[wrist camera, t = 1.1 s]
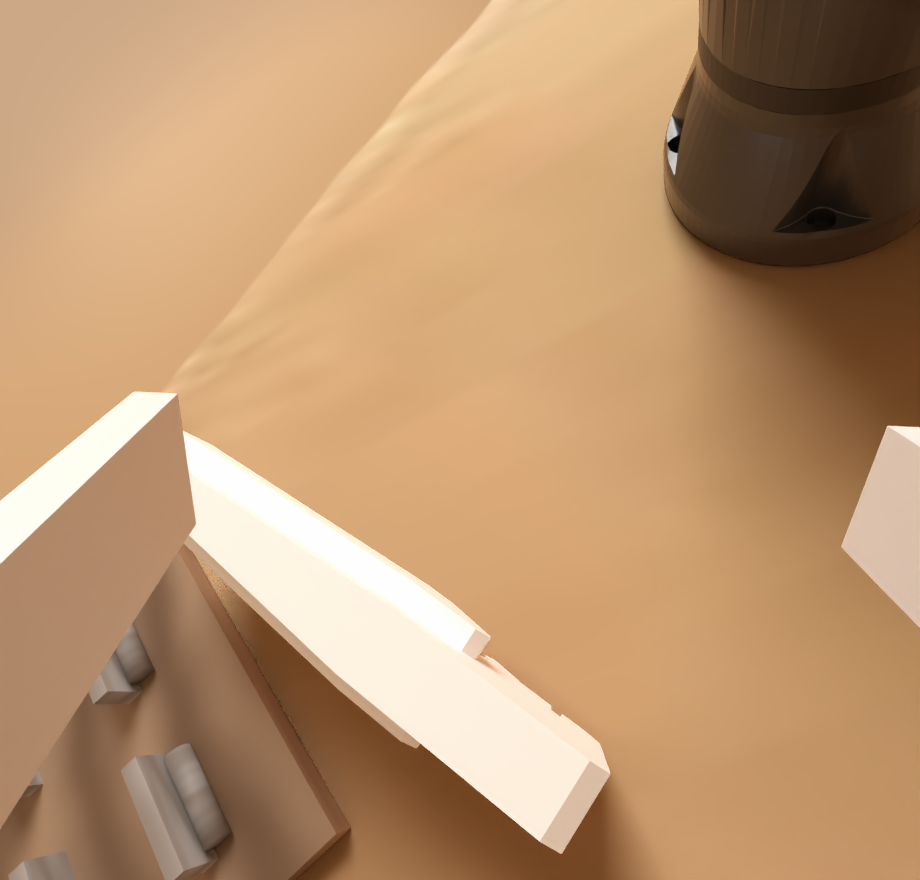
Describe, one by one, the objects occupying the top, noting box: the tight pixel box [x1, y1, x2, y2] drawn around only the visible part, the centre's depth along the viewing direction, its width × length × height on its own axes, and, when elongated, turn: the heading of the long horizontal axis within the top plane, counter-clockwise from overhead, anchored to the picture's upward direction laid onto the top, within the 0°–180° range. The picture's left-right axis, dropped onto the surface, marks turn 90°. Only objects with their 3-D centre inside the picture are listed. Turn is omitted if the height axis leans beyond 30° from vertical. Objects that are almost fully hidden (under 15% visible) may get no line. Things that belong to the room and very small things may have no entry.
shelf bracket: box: [183, 431, 610, 854], centre depth 32 cm, size 6×25×13 cm, turn 53°
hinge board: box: [0, 544, 350, 880], centre depth 34 cm, size 20×20×4 cm
